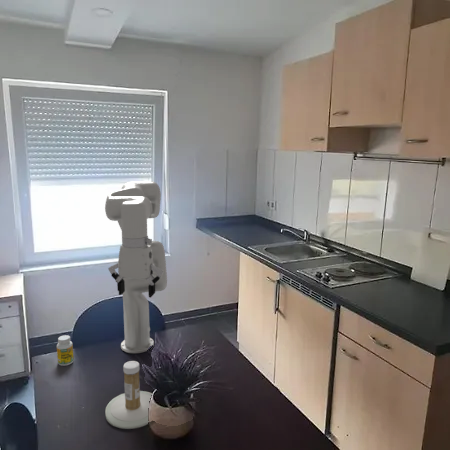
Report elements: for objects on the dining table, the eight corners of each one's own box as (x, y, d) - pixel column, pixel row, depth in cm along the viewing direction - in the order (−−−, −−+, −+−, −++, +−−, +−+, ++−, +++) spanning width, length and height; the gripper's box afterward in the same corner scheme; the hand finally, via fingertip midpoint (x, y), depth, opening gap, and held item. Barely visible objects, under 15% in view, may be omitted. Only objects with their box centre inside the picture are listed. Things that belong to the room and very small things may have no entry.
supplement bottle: (71, 357, 151) (69, 332, 149) (75, 363, 146) (74, 338, 145) (56, 361, 148) (54, 336, 146) (60, 367, 143) (58, 342, 141)
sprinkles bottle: (143, 407, 120) (141, 365, 117) (128, 412, 118) (126, 370, 115) (137, 399, 124) (135, 358, 121) (122, 404, 121) (120, 362, 119)
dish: (118, 392, 130) (118, 388, 129) (167, 397, 127) (167, 393, 127) (95, 425, 114) (95, 421, 114) (150, 431, 112) (150, 427, 112)
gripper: (166, 240, 126) (166, 292, 130) (113, 236, 128) (115, 287, 132) (158, 247, 118) (159, 301, 122) (102, 243, 121) (105, 297, 125)
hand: (136, 294), depth 127 cm, fingers open, 9 cm apart
